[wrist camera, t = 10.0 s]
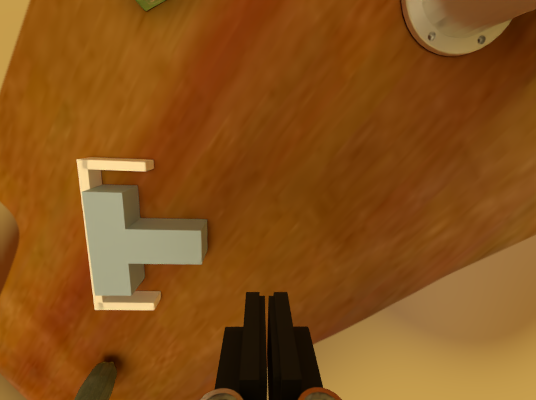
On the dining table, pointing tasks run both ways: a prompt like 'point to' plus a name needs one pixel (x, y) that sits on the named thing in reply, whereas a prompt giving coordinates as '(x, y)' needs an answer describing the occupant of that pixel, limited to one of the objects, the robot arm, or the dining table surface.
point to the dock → (88, 179)
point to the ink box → (148, 3)
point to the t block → (134, 239)
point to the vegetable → (98, 383)
